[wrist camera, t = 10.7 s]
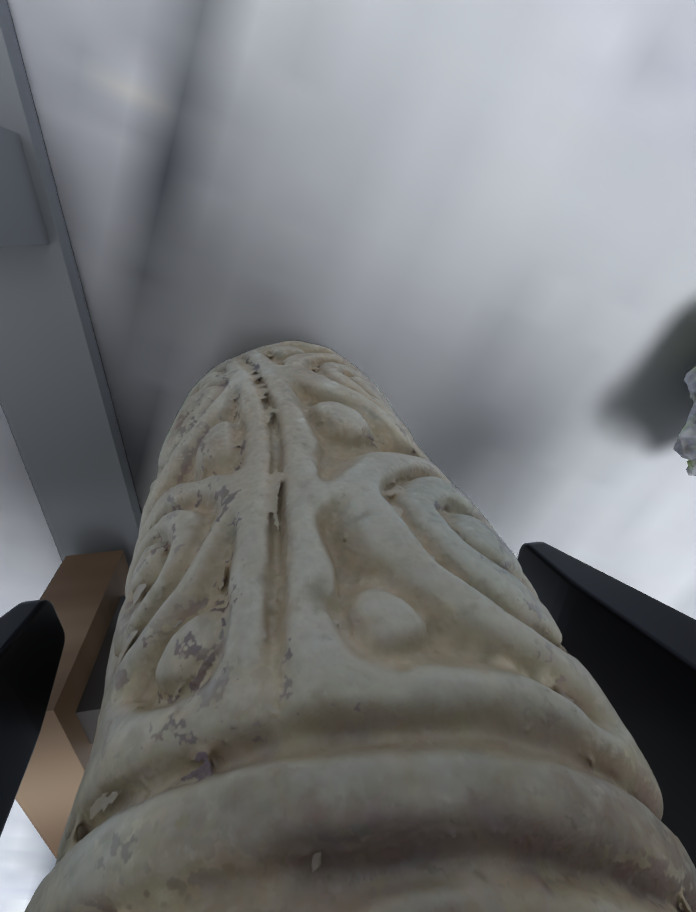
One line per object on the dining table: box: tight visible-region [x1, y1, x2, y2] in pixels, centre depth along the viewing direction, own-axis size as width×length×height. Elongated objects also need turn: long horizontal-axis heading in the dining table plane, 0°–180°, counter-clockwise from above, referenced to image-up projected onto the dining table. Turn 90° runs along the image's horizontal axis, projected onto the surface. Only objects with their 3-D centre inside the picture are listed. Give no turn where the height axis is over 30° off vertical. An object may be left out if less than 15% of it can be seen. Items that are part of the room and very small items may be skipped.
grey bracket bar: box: [0, 0, 142, 568], centre depth 12 cm, size 30×2×6 cm, turn 0°
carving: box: [25, 341, 696, 912], centre depth 8 cm, size 6×8×12 cm
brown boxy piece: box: [15, 550, 129, 859], centre depth 14 cm, size 12×7×5 cm, turn 179°
